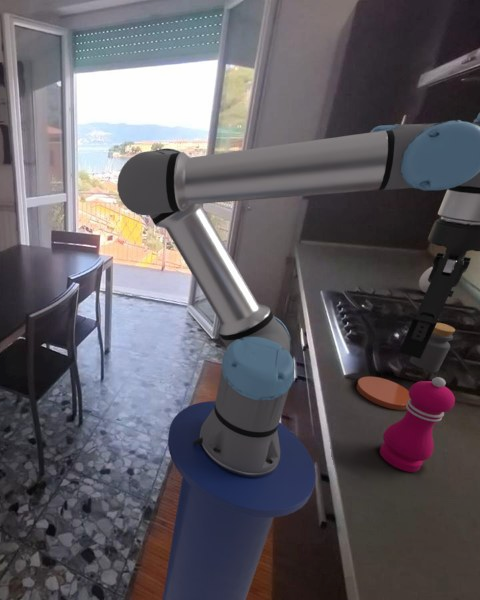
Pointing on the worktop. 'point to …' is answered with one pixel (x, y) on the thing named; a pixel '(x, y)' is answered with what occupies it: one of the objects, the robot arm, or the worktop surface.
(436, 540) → the worktop surface
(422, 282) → the egg
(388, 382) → the trivet
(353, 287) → the worktop surface
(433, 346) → the bottle
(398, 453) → the pepper mill
